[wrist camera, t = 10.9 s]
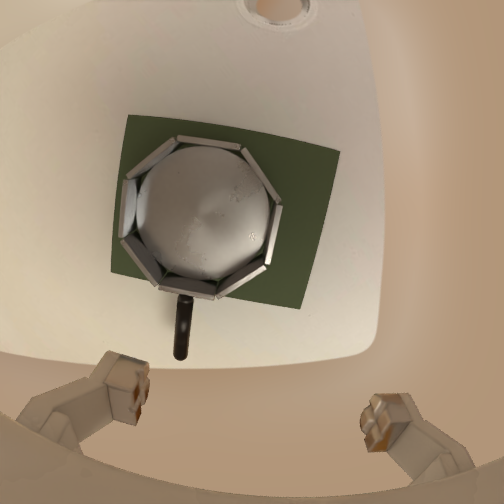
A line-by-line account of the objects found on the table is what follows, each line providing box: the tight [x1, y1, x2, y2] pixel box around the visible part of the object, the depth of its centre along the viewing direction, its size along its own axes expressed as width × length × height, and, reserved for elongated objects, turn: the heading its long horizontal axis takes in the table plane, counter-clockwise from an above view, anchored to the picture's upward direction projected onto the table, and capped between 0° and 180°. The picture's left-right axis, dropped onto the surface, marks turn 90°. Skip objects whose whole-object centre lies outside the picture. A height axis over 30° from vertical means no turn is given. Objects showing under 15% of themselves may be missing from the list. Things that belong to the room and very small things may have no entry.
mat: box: [111, 115, 340, 309], centre depth 27 cm, size 20×16×1 cm
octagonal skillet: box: [118, 135, 283, 361], centre depth 26 cm, size 20×13×5 cm, turn 169°
